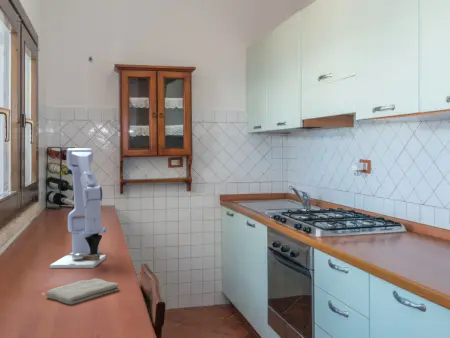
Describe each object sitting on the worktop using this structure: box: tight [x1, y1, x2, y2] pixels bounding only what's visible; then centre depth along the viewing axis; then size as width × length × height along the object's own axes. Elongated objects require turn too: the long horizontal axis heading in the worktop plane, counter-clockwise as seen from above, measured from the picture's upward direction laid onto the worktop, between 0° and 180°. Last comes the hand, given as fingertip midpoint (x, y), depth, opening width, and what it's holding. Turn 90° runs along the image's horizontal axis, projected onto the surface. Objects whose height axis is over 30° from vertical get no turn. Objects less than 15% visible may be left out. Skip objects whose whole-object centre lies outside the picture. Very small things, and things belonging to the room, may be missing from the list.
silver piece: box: [72, 246, 101, 260], centre depth 175 cm, size 11×5×4 cm, turn 84°
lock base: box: [49, 254, 107, 269], centre depth 175 cm, size 16×16×1 cm
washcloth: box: [45, 278, 120, 306], centre depth 136 cm, size 12×18×3 cm, turn 143°
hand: (93, 254), depth 173 cm, fingers closed
